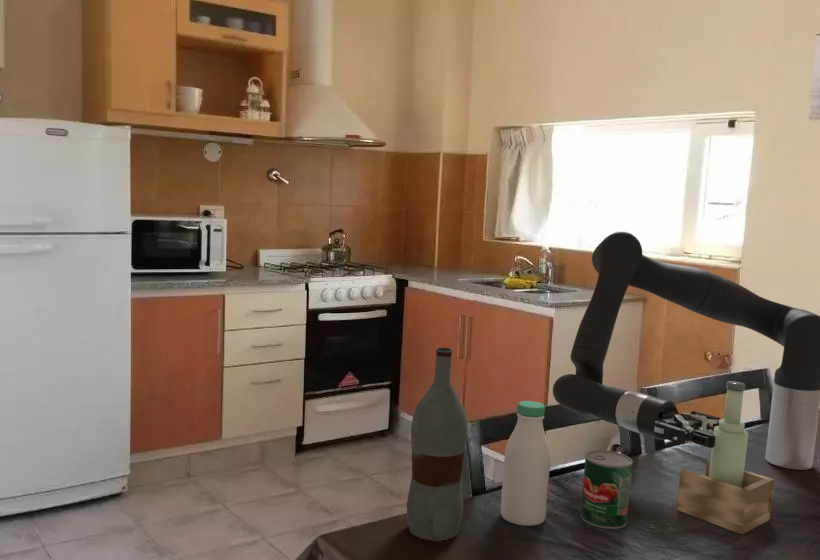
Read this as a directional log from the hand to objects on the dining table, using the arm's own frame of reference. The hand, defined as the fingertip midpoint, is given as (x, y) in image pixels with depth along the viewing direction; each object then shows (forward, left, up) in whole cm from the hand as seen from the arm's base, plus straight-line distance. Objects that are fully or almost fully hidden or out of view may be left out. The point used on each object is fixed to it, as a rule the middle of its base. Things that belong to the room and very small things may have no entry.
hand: (726, 438), depth 139 cm
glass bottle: (0, 0, -12) cm, 13 cm away
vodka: (+17, -50, -14) cm, 55 cm away
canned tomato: (+7, -21, -14) cm, 27 cm away
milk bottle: (+9, -35, -14) cm, 39 cm away
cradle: (+1, +1, -14) cm, 14 cm away
